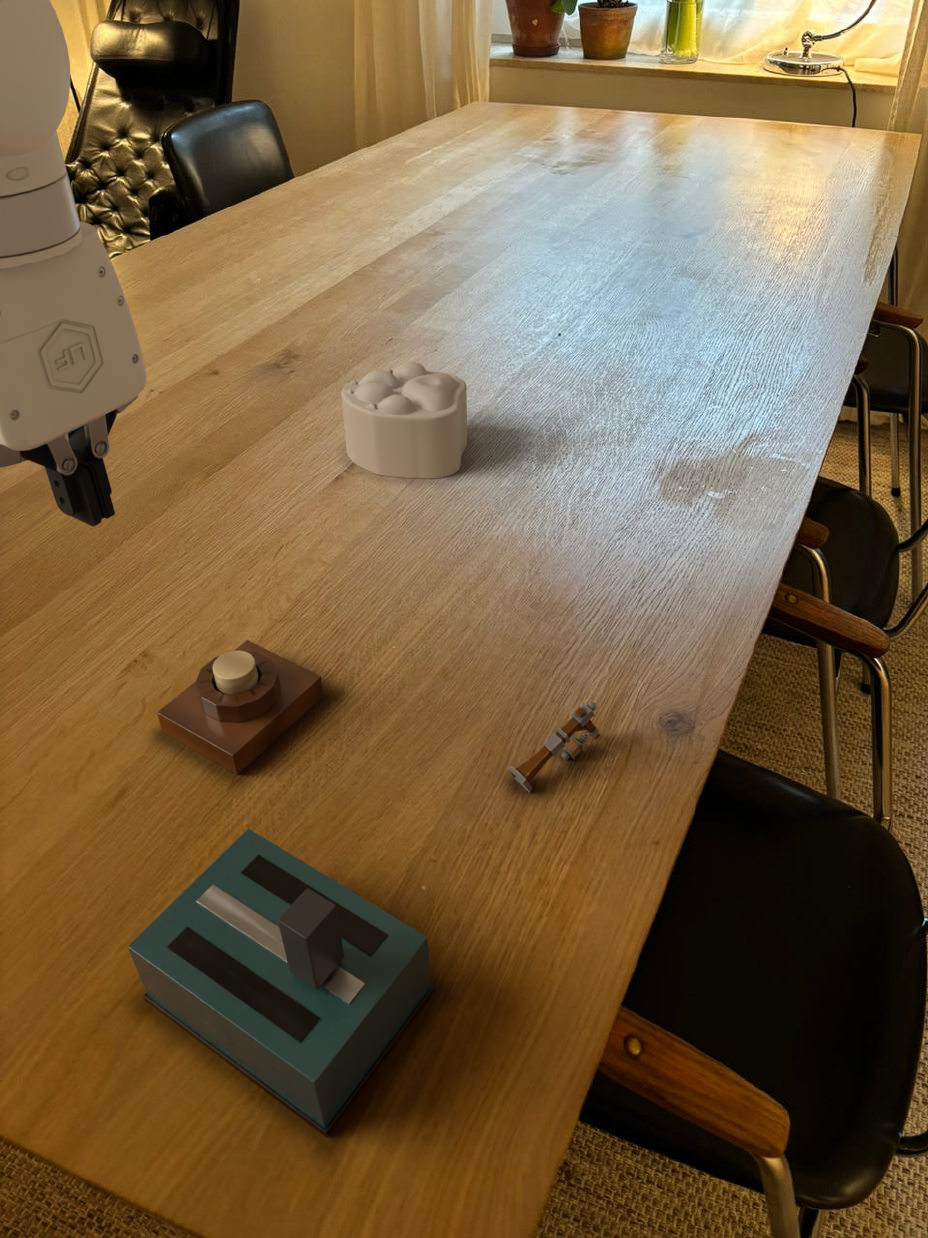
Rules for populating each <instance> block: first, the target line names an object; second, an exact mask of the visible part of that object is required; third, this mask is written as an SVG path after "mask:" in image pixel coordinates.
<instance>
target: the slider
mask: <svg viewBox="0 0 928 1238" xmlns="http://www.w3.org/2000/svg"><path fill="white" fill-rule="evenodd" d="M278 925H279V929H280V933H281V937H282V941H283V946H284V950H285V954H286V958H287V962H288V966H289V971H290V972H291V973H292V974H294V975H295V976H297V977H298V978H300V979H301V980H303V981H304V982H306V983H307V984H309V985H310V986H312V987H313V988H314V989H316V990H318V988H319V987H320V986H321V985H322V984H323V982H324V981H325V980H326V979H327V978H328V976H329V975H330V974H331V973H332V972H333V970H334V969H335V968H336V967H337V966H338V964H339V963H340V962H341V961H342V960H343V958H344V951H343V945H342V939H341V933H340V927H339V921H338V915H337V909H336V905H334V904H333V903H331V902H330V901H328V900H326V899H325V898H323V897H322V896H320V895H318V894H317V893H315V892H313V891H312V890H310V889H309V888H307V889H306V890H305V891H304V892H303V893H302V894H301V895H300V896H299V897H298V899H297V900H296V901H295V902H294V903H293V904H292V905H291V906H290V907H289V908H288V909H287V910H286V912H285V913H284V914H283V915H282V916H281V917H280V918H279V919H278Z"/></svg>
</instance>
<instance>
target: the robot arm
mask: <svg viewBox="0 0 928 1238" xmlns="http://www.w3.org/2000/svg"><path fill="white" fill-rule="evenodd" d="M70 90H71V60H70V55H69V49H68V43H67V40H66V37H65V34H64V30H63V27H62V23H61V22H60V20H59V17H58V15H57V12H56V10H55V8H54V6H53V4H52V2H51V0H0V469H2V468H5V467H10V466H15V465H18V464H22V463H24V462H26V461H29V462H31V463H34V464H37V465H40V466H42V467H44V470H45V472H46V476H47V479H48V481H49V485H50V488H51V491H52V494H53V498H54V500H55V503H56V506H57V507H58V509H59V510H60V511H61V512H62V513H63V514H64V515H67V516H69V517H72V518H73V519H76V520H78V521H80V522H82V523H84V524H86V525H89V526H90V527H92V528H94V527H96V526H98V525H100V524H101V523H102V520H103V519H110V518H111V517H114V516H115V515H116V511H115V508H114V504H113V500H112V497H111V495H112V492H113V491H112V486H111V483H110V480H109V476H108V472H107V471H108V470H107V468H106V465H105V460H104V458H105V457H106V456H107V455H108V453H109V450H110V441H109V435H110V433H111V431H112V429H113V425H114V423H115V422H116V418H117V416H118V414H121V413H122V412H123V411H124V410H126V409H127V408H128V407H129V406H130V405H132V403H134V402H135V401H137V399H138V398H139V395H140V394H141V393H142V392H143V391H144V389H145V387H146V386H147V382H148V376H147V375H148V373H147V367H146V363H145V357H144V354H143V351H142V346H141V343H140V339H139V336H138V332H137V329H136V326H135V323H134V319H133V316H132V313H131V310H130V307H129V304H128V301H127V299H126V296H125V292H124V289H123V287H122V285H121V281H120V279H119V277H118V274H117V272H116V270H115V267H114V264H113V263H112V261H111V257H110V255H109V253H108V251H107V249H106V247H105V245H104V244H103V243H104V242H103V241H102V239H101V237H100V235H99V233H98V231H97V230H96V228H95V226H94V225H92V224H90V223H87V222H83V221H81V220H80V217H79V213H78V209H77V205H76V201H75V196H74V194H73V189H72V185H71V181H70V176H69V173H68V170H67V167H66V163H65V159H64V155H63V151H62V148H61V143H60V139H59V135H58V131H57V130H58V128H59V127H60V125H61V123H62V121H63V119H64V116H65V114H66V111H67V107H68V103H69V98H70Z"/></svg>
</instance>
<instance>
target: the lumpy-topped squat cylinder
mask: <svg viewBox="0 0 928 1238" xmlns="http://www.w3.org/2000/svg"><path fill="white" fill-rule="evenodd" d="M467 388H468V386H467V383H466V381H465V380H464V379H462V378H461V377H459V376H458V375H454V374H451V373H448V372H440V371H429V370H427V369H426V368H425V367H424V366H423V365H422V364H421V363H419V362H415V361H407V362H404V363H402V364H399V365H398V366H396V367H394V369H389V368H388V369H374V370H372V371H370V372H368V373H367V374H366V375H363V376H361V377H358V378H355V379H354V380H351V381H349V382H348V383H347V384H345V385H344V386H343V387H342V390H341V394H340V396H341V407H342V408H341V409H342V415H343V416H342V418H343V429H344V438H345V448H346V449H345V450H346V454H347V456H348V458H349V459H350V460H351V462H352V463H354V464H355V465H357V466H358V467H359V468H362V469H364V470H365V471H369V472H370V473H373V474H376V475H380V476H384V477H385V476H386V477H393V478H404V479H427V480H429V479H442V478H446V477H449V476H453V475H454V474H456V473H457V472H458V471H459V470H460V469H461V466H462V455H463V453H464V452H465V451H466V448H467V446H468V404H467V403H468V393H467V390H468V389H467Z"/></svg>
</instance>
